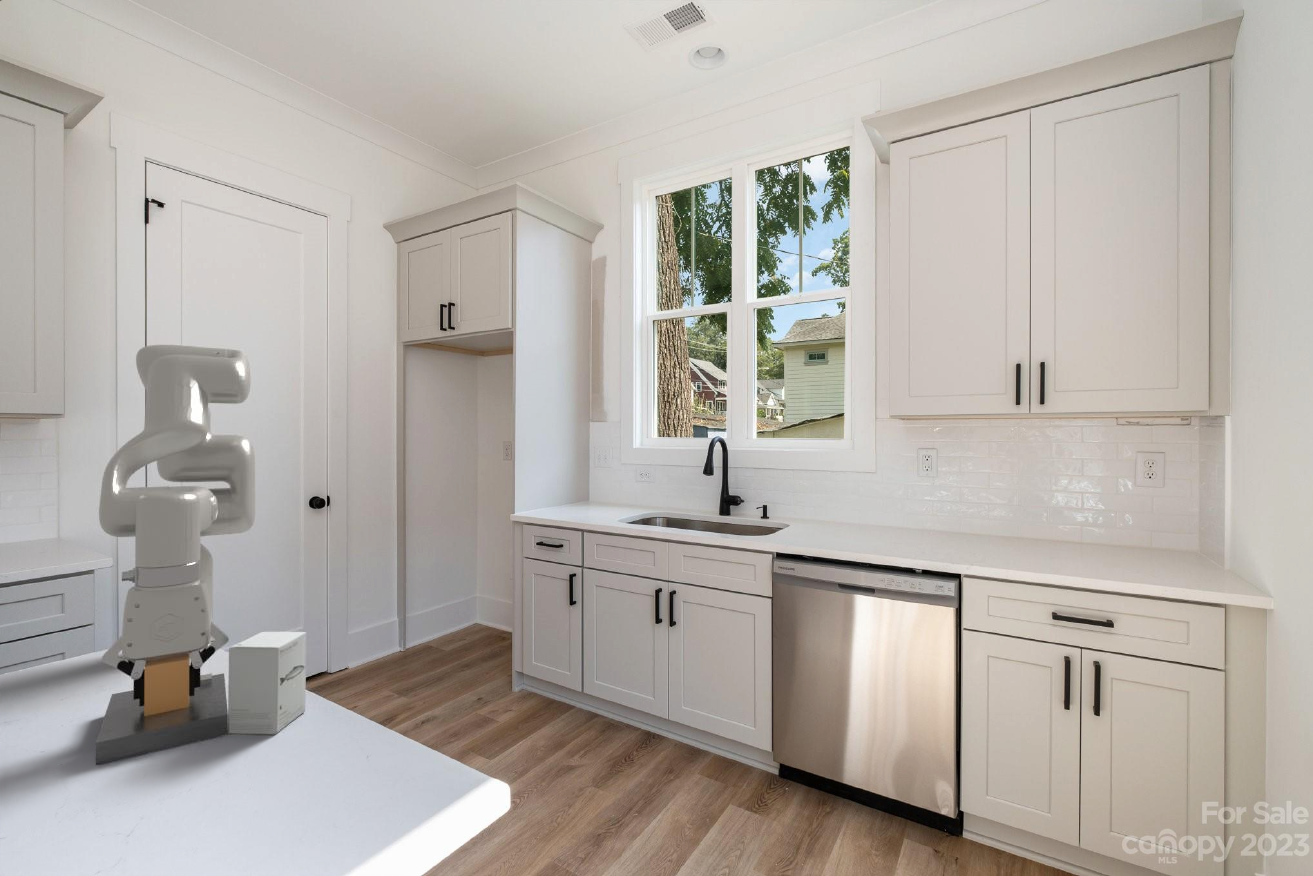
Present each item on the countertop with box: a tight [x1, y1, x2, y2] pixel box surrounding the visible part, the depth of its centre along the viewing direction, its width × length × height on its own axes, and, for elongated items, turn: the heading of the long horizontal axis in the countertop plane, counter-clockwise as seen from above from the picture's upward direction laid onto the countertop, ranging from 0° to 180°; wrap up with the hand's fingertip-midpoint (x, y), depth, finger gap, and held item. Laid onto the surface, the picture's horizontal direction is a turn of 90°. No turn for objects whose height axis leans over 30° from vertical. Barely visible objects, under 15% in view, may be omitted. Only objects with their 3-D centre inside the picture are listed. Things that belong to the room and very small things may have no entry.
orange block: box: [144, 652, 191, 716], centre depth 91 cm, size 8×5×9 cm, turn 37°
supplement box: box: [227, 631, 307, 735], centre depth 91 cm, size 7×7×13 cm
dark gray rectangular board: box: [95, 673, 229, 767], centre depth 90 cm, size 18×14×4 cm
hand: (167, 696), depth 90 cm, fingers closed on orange block, 5 cm apart
